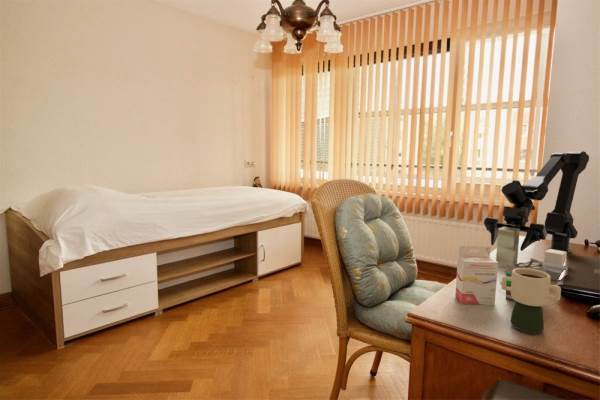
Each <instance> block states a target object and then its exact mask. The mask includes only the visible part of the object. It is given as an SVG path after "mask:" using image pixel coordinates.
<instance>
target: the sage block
mask: <svg viewBox="0 0 600 400" xmlns="http://www.w3.org/2000/svg"><path fill="white" fill-rule="evenodd" d="M520 233H521V232H520V229H517V228H510V227H502V228H499V229H498V237H497V239H496V241H497V242H496V244H497V245H496V257H495V261H497V262H498V267H503V268H505V267H506V264H507V265H510V266H515V265H516V264H518V259H519V258H518V255H519V243H520Z"/></svg>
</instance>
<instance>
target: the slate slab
mask: <svg viewBox="0 0 600 400" xmlns="http://www.w3.org/2000/svg"><path fill="white" fill-rule="evenodd" d="M540 261H541V260H540ZM541 262H542V263H543V264H544V266H545V269H546V273H547V274H549V275H550V277H551V281H552V280H553V281H557V282H559V281H558V279H559V277H560V275H561V273H562V272H563V271H564V270H566V266H567V265H565V266H562V265H557V264H552V263H547V262H544V261H541Z"/></svg>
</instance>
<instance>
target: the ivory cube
mask: <svg viewBox="0 0 600 400" xmlns="http://www.w3.org/2000/svg"><path fill="white" fill-rule="evenodd" d="M567 255H568V254H567V252H565V251H559V250H553V249H549V248H547V250H545V251H544V257H543V259H544V260H543V262H547V263H552V264H557V265H562V266H563V264H564V262H565V260H566V261H567Z"/></svg>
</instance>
